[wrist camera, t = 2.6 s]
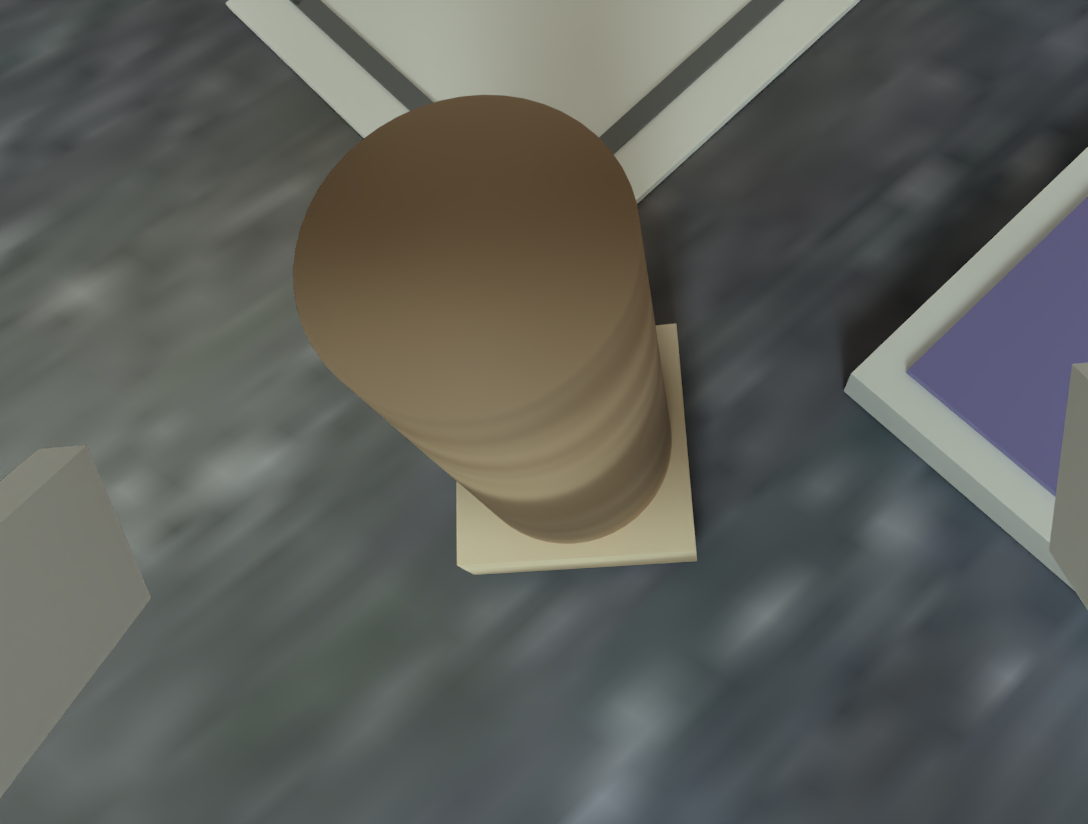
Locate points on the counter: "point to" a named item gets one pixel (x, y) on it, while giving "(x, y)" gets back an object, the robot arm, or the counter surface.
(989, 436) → the ink pad
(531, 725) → the counter surface
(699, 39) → the sheet
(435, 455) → the stamp
